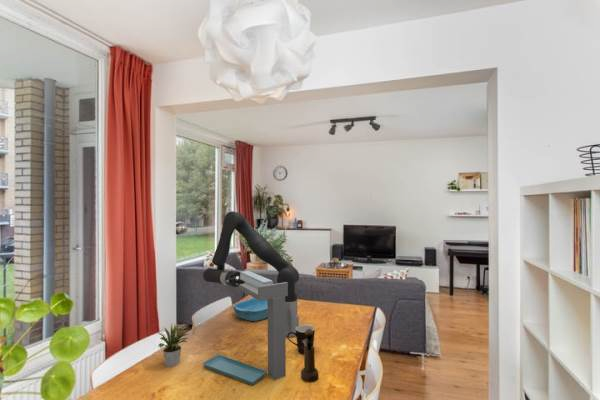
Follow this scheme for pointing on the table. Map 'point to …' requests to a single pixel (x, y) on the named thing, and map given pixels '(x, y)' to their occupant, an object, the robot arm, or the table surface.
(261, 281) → the grey rectangular box
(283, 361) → the grey gallows post
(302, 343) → the coffee mug
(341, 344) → the table surface
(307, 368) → the mortar and pestle
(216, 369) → the teal serving tray
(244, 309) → the casserole dish
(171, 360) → the house plant
